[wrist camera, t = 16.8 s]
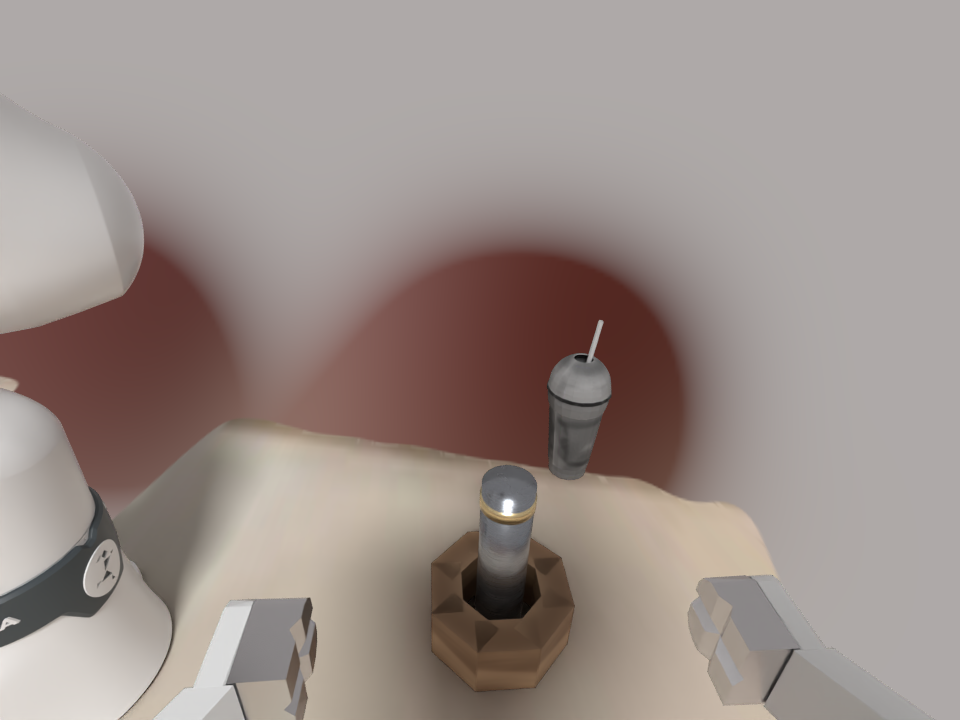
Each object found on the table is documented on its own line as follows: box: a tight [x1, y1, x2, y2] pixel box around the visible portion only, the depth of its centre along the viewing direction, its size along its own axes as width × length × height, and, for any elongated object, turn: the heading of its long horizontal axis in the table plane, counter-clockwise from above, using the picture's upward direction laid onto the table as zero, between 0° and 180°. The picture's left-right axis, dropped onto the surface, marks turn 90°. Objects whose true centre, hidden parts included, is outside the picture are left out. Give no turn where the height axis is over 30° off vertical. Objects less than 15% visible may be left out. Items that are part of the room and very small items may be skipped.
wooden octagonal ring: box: [431, 531, 575, 692], centre depth 44 cm, size 12×12×5 cm
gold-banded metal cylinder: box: [475, 465, 537, 620], centre depth 41 cm, size 4×4×16 cm
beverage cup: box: [547, 320, 611, 480], centre depth 58 cm, size 7×7×20 cm
